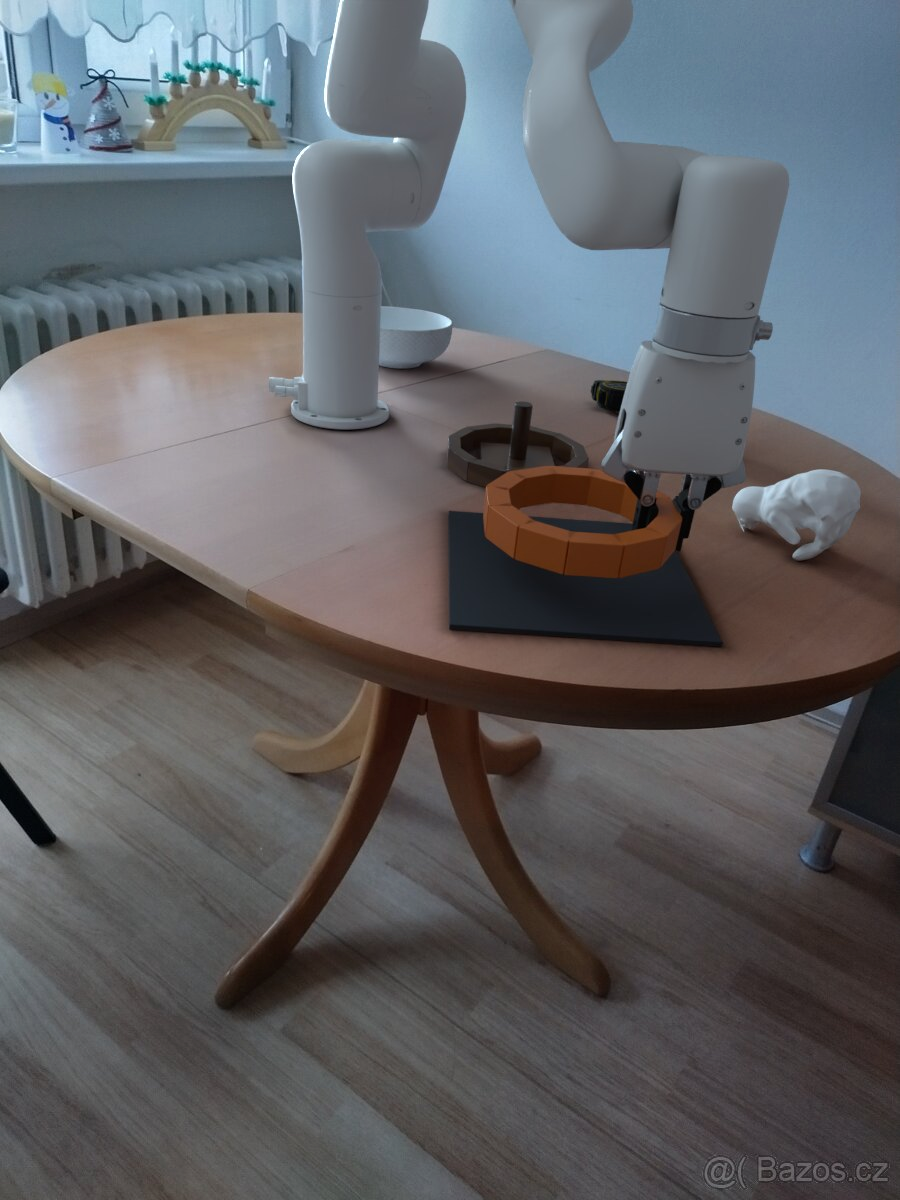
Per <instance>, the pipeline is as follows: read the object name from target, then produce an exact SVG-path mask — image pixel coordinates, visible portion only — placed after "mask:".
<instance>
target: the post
mask: <svg viewBox="0 0 900 1200" xmlns="http://www.w3.org/2000/svg"><path fill="white" fill-rule="evenodd" d="M533 406H534V405H533V403H531V402H529V401H523V400H522V401H521V400H520V401H515V404H514V410H513V418H512V424H511V425H512V434H511V442H510V444H500V443H486V442H480V448H479V449H478V453H479V460H483V461H486V462H490V463H494V464H497V465H501V466H505V467H514V468H535V467H542V466H556V464H555V462H554V457H553V455H552V454H551V451H550V448H549V447H540V446H528V439H529V431H530V426H531V422H532V415H533Z"/></svg>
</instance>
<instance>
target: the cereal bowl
mask: <svg viewBox="0 0 900 1200" xmlns="http://www.w3.org/2000/svg"><path fill="white" fill-rule="evenodd" d="M453 325H454V323H453V321H452V319H450V318H449V317H448V316H445V315H442V314H440V313H436V312H433V311H430V310H429V311H428V310H422V309H417V308H409V307H401V306H390V305H389V306H387V305H386V306H385V305H381V324H380V351H379V367H384V368H390V369H404V370H405V369H406V370H407V369H414V368H418V367H420V366H421V365H422V364H423V363H427V362H431V361H433V360H436V359H437V358H439V357H440V356H441V355H443V354H444V353H445V351H446V350H447V349H448V347H449V345H450V344H451V339H452V335H453Z"/></svg>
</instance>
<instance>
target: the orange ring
mask: <svg viewBox="0 0 900 1200" xmlns="http://www.w3.org/2000/svg"><path fill="white" fill-rule="evenodd" d="M560 466H561V465H558V466H557V465H555V466H542V467H535V468H528V469H522V470H515V471H510V472H507V473H505V474H504V475H502V476H500V477H499V478H497V479H496V480H494V481H493V482H491V483H490V484H488V485H487V486H486V487H485V493H484V505H483V512H482V513H483V520H484V531H485V537H486V538H487V539H488V540H490V541H491V542H492V543H493V544H495V545H496V546H497V547H499V548H500V549H501V550H503V551H504V552H505V553H507V554H508V555H509V556H510V557H512V558H513V559H515V560H518V561H521V562H524V563H527V564H531V565H534V566H537V567H540V568H543V569H546V570H550V571H553V572H556V573H559V574H565V575H572V576H588V577H604V578H622V577H627V576H631V575H635V574H639V573H643V572H648V571H652V570H656V569H659V568H661V566H662V565H663V564H664V563H665V562H666V560H667V559H668V558H669V557H670V556H671V554H672V553H673V552H674V551H675V549H676V545H677V540H678V536H679V532H680V527H681V523H682V517H681V515H680V513H679V512H678V510H677V508H676V506H675V505H674V503H673V499H672V498H671V497H670V496H668V495H666V494H665V493H662V492H660V491H659V490H657V492H656V499H657V500H656V505H657V506H658V508H659V512H658V514H657V517H656V518H655V519H654V520H653V521H652V522H651V523H650V524H649V525H648V526H647V527H646V528H642V529H637V530H633V531H628V532H623V533H618V534H601V533H586V532H572V531H568V530H565V529H562V528H558V527H555V526H551V525H548V524H544V523H541V522H538V521H534V520H533V519H531V518H530V517H528V516H529V515H527V514H526V513H524V512H522V511H521V509H523V508H529V507H534V506H541V505H547V504H564V505H578V506H588V507H591V508H594V509H598V510H601V511H605V512H610V513H612V514H613V513H614V514H616V515H620V516H622V517H623V518H624V519H627V520H628V521H630V522H632V523H633V519H634V514H635V509H636V504H637V499H638V498H637V497H636V496H635V494H634V493H633V492H632V491H631V489H630V488H629V487H628V486H627V485H626V483H624V482H622V481H619V480H617V479H615V478H613V477H611V476H609V475H607V474H605V473H604V471H603V470H600V469H596V468H594V469H593V468H589V467H587V468H575V467H560Z"/></svg>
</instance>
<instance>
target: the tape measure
mask: <svg viewBox="0 0 900 1200" xmlns="http://www.w3.org/2000/svg"><path fill="white" fill-rule="evenodd" d="M627 382H628V381H623V380H605V379H604V380H603V379H597V380H596V379H595V380H594V381H593V384H592V385H591V389H590V394H591V399H592V400H593V402H596V405H597V406H599V408H602V409H604V410H607V411H611V412H615V413H616V414H619V413H620V409H621V405H622V401H623V397H624V393H625V390H626V386H627Z"/></svg>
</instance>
